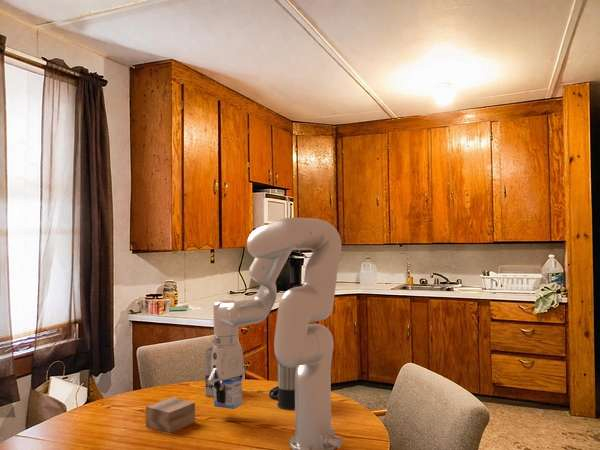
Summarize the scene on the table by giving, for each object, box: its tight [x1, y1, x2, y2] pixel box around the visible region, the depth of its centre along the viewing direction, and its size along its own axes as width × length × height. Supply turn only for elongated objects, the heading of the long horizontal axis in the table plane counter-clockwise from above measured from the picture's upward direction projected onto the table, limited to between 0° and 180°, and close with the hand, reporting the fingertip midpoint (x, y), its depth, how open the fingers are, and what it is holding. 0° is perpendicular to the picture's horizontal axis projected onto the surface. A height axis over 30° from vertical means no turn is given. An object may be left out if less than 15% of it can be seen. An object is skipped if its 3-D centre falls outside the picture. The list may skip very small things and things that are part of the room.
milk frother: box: [268, 359, 297, 410], centre depth 160 cm, size 14×16×15 cm
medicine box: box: [213, 377, 243, 410], centre depth 146 cm, size 8×4×9 cm, turn 62°
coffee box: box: [204, 346, 214, 397], centre depth 171 cm, size 9×6×16 cm
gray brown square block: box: [145, 396, 196, 434], centre depth 141 cm, size 10×10×6 cm
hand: (228, 399), depth 146 cm, fingers closed on medicine box, 5 cm apart
